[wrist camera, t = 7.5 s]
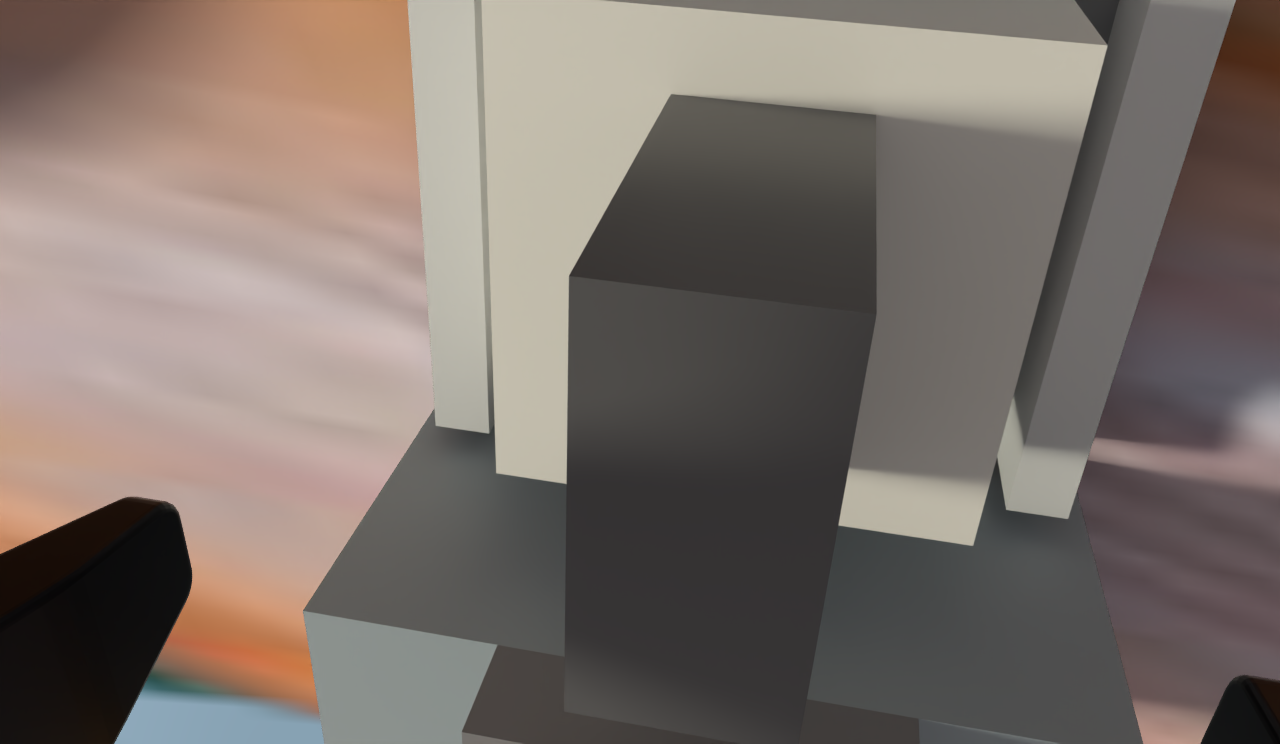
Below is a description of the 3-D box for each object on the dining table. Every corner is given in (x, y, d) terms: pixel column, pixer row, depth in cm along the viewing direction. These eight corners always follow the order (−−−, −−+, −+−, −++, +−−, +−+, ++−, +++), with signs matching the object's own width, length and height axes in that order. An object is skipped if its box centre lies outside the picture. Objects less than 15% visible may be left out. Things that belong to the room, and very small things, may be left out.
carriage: (1055, -27, 15) (1242, 228, 7) (955, 397, 19) (1011, 860, 11) (564, -67, 16) (278, 122, 8) (561, 343, 19) (361, 737, 12)
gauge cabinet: (1084, 460, 20) (1201, 870, 13) (1012, 684, 23) (1074, 1115, 16) (457, 372, 22) (250, 692, 15) (469, 592, 25) (302, 944, 18)
